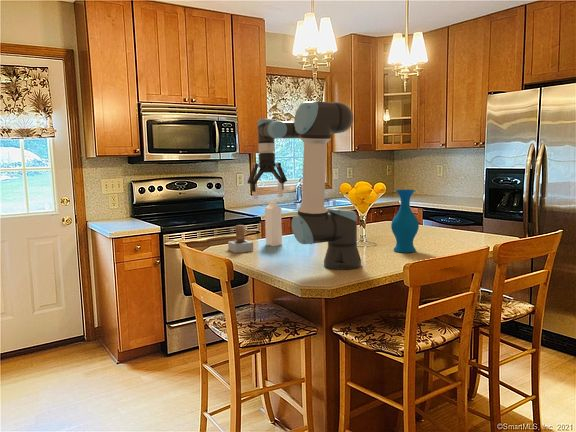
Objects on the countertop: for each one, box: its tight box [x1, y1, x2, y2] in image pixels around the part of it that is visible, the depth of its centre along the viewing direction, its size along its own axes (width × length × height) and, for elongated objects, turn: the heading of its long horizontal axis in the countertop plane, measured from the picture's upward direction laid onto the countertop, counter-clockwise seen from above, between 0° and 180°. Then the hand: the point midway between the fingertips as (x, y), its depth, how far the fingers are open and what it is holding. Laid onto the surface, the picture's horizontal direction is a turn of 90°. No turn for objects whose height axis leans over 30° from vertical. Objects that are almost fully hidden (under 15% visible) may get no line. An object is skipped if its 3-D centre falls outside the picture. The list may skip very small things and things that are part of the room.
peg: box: [235, 224, 246, 244], centre depth 225 cm, size 4×4×12 cm
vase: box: [390, 189, 420, 254], centre depth 215 cm, size 12×13×28 cm
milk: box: [264, 200, 283, 247], centre depth 237 cm, size 6×6×22 cm
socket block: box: [227, 239, 254, 254], centre depth 226 cm, size 9×9×4 cm
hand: (268, 197), depth 222 cm, fingers open, 13 cm apart
